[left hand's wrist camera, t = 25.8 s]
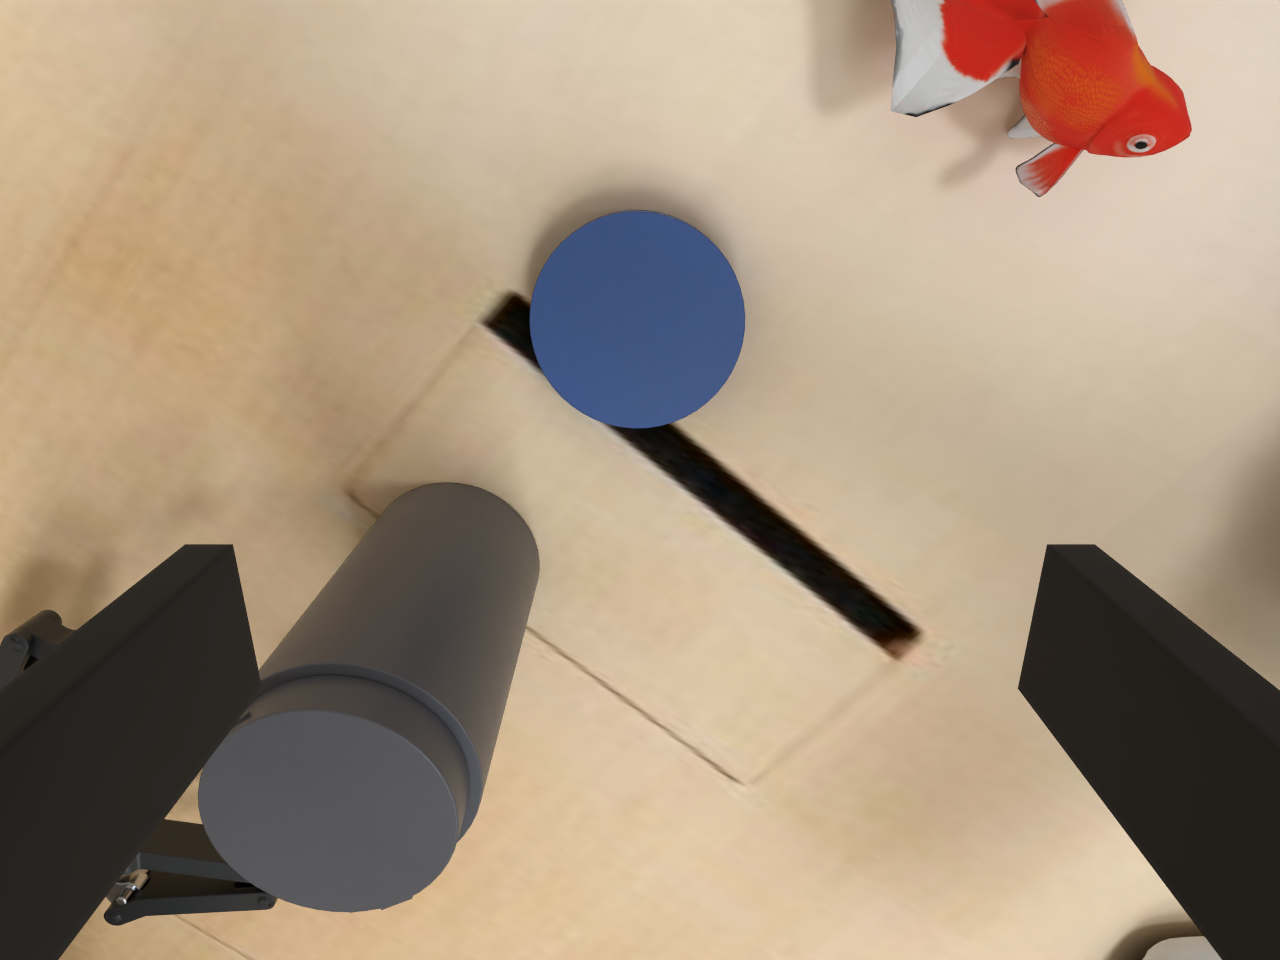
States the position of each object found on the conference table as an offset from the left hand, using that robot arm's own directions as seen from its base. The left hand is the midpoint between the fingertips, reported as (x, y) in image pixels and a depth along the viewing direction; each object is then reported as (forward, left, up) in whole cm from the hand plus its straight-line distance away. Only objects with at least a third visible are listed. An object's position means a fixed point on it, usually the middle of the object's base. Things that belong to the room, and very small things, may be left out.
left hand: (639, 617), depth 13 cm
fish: (-18, -8, -30) cm, 36 cm away
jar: (+14, +12, -30) cm, 35 cm away
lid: (0, 0, -28) cm, 29 cm away
